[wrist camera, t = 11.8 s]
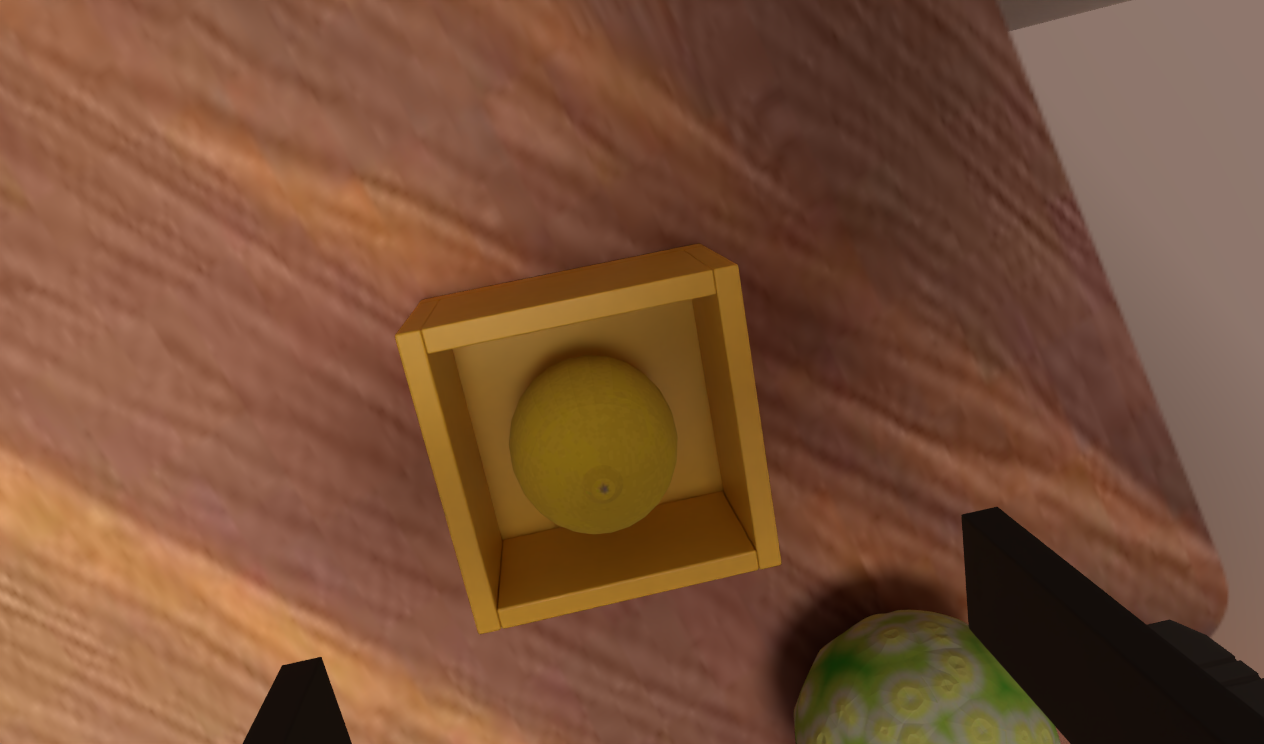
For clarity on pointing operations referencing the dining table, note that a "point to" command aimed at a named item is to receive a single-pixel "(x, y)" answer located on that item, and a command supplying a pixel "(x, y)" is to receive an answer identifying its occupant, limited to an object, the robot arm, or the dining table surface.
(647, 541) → the yellow bin
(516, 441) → the lemon
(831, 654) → the decorative ball
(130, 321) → the dining table surface
